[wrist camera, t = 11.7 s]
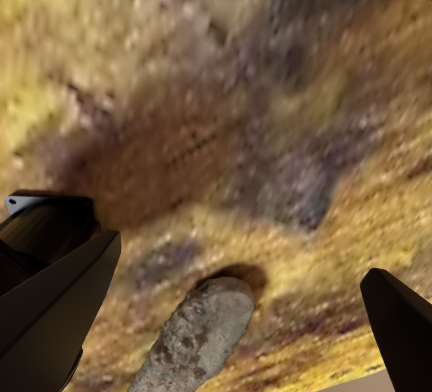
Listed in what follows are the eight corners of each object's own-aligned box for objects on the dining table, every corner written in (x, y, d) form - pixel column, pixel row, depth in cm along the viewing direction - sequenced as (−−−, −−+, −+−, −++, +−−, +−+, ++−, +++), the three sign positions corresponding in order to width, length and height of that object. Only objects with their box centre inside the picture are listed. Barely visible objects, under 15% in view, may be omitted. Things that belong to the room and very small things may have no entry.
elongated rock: (107, 401, 40) (165, 403, 43) (97, 446, 35) (163, 445, 39) (189, 258, 24) (271, 279, 27) (190, 307, 20) (288, 325, 23)
